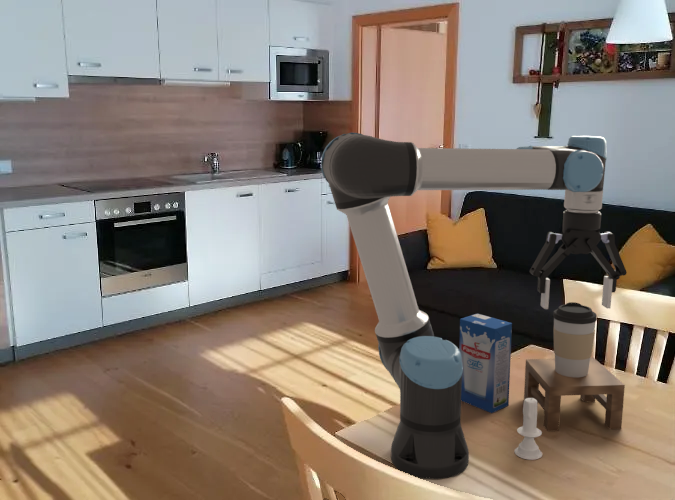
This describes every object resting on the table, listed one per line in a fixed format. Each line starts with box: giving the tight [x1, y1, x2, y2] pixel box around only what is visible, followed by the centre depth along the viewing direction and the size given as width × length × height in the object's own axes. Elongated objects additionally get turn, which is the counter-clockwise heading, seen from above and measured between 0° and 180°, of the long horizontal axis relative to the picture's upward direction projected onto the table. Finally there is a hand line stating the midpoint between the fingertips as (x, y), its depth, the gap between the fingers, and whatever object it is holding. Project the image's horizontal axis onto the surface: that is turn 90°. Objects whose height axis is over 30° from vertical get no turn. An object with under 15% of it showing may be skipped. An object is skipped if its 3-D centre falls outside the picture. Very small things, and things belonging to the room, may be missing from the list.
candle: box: [514, 398, 543, 461], centre depth 132 cm, size 5×5×12 cm
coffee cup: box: [552, 301, 598, 377], centre depth 147 cm, size 9×9×15 cm
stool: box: [523, 357, 626, 432], centre depth 150 cm, size 16×16×10 cm
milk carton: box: [458, 313, 513, 414], centre depth 155 cm, size 10×6×20 cm, turn 40°
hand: (575, 307), depth 146 cm, fingers open, 13 cm apart
